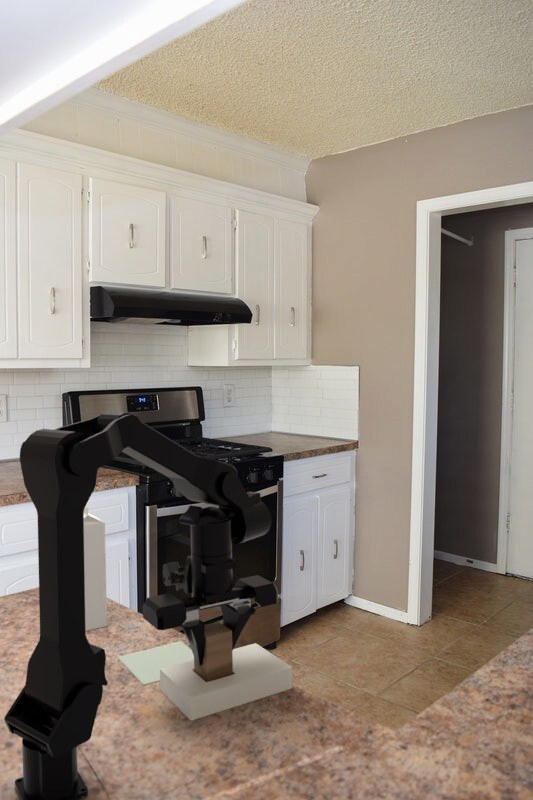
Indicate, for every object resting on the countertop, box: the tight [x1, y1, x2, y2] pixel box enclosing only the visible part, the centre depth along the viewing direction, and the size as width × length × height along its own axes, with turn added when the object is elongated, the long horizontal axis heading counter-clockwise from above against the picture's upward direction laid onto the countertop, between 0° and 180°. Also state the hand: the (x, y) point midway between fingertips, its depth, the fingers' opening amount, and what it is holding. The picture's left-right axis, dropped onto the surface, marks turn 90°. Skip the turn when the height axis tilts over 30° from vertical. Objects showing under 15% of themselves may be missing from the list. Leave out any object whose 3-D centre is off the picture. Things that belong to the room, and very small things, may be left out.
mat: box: [117, 641, 194, 686], centre depth 106 cm, size 11×11×1 cm
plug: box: [194, 621, 233, 682], centre depth 96 cm, size 4×4×9 cm
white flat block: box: [159, 642, 293, 721], centre depth 97 cm, size 10×16×4 cm, turn 122°
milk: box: [84, 505, 108, 632], centre depth 122 cm, size 6×6×22 cm
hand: (213, 660), depth 96 cm, fingers closed on plug, 4 cm apart
